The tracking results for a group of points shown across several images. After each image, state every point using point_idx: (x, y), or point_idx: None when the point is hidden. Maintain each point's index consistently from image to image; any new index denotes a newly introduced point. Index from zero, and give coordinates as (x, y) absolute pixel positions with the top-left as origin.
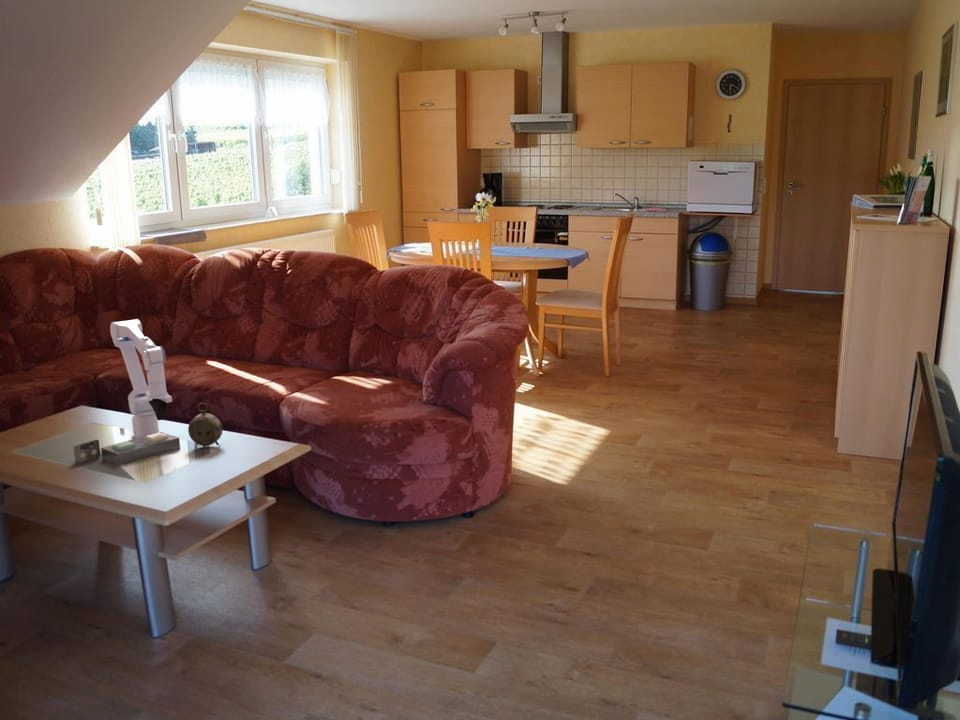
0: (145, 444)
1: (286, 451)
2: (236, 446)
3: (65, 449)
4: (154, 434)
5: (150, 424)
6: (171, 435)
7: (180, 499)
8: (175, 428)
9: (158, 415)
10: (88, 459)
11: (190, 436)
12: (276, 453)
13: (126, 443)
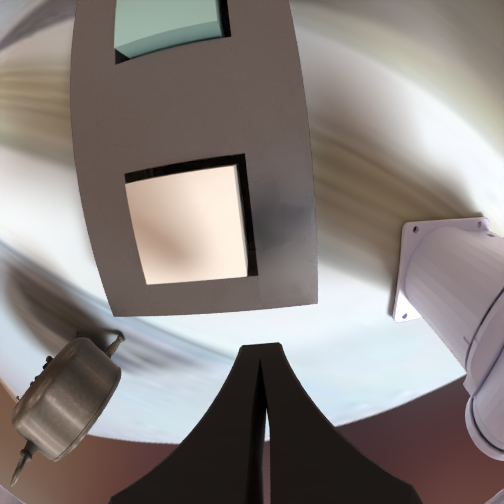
0: (108, 117)
1: (12, 394)
2: None
3: (491, 13)
4: (222, 230)
5: (443, 301)
6: (185, 313)
7: None
8: (428, 370)
9: (226, 379)
10: None
11: (72, 344)
12: (5, 381)
13: (157, 9)
